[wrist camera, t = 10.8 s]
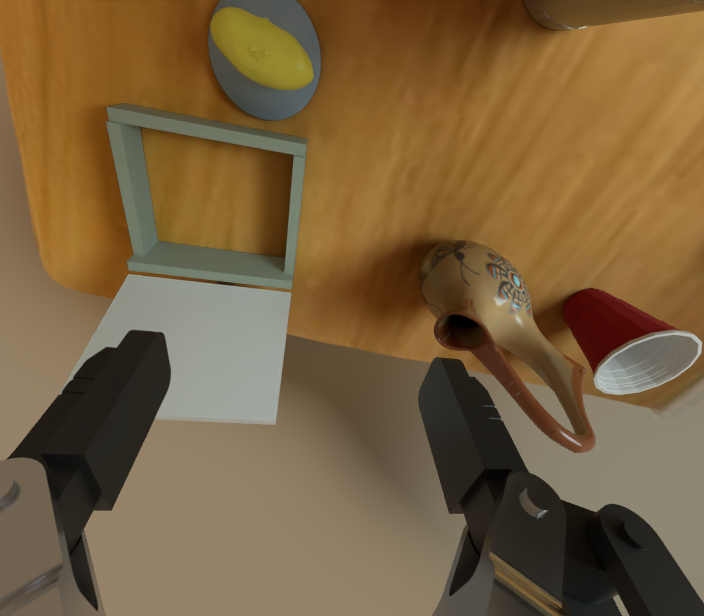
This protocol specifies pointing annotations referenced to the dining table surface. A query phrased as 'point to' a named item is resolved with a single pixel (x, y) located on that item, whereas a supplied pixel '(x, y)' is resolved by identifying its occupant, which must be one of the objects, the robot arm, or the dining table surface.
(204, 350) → the lid
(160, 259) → the frame
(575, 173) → the dining table surface
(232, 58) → the yellow oblong lump
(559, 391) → the ceramic vessel
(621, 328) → the plastic cup
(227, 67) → the saucer
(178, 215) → the dining table surface
